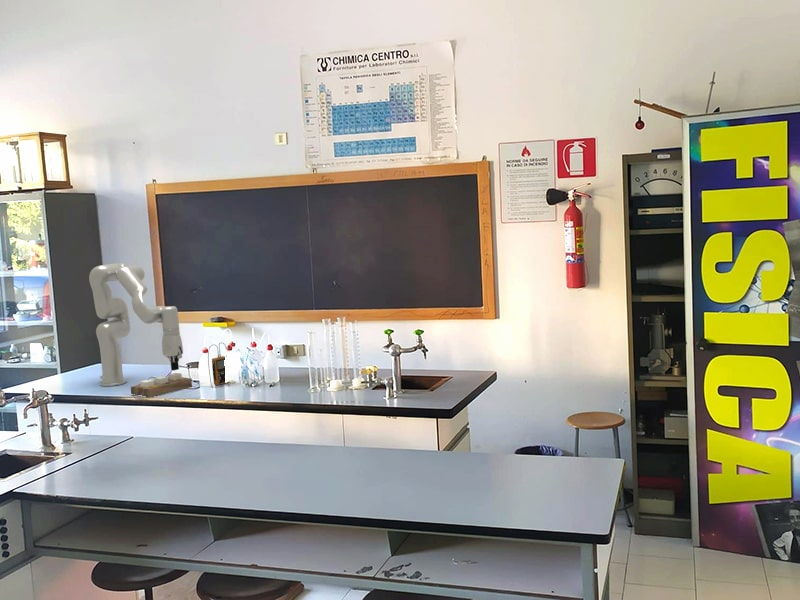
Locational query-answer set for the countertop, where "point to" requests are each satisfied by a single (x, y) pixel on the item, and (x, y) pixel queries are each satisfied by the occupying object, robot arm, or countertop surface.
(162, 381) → the middle button
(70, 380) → the countertop surface
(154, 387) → the button board
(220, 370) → the multimeter
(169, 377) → the button
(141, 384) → the button
